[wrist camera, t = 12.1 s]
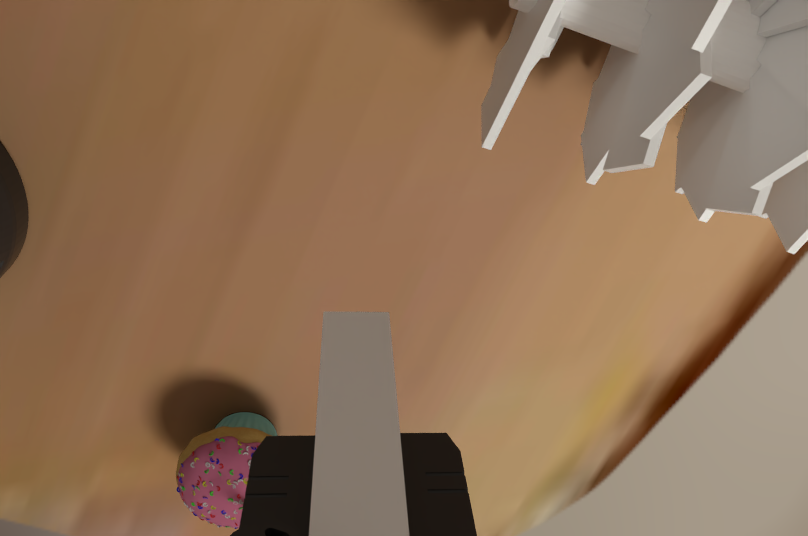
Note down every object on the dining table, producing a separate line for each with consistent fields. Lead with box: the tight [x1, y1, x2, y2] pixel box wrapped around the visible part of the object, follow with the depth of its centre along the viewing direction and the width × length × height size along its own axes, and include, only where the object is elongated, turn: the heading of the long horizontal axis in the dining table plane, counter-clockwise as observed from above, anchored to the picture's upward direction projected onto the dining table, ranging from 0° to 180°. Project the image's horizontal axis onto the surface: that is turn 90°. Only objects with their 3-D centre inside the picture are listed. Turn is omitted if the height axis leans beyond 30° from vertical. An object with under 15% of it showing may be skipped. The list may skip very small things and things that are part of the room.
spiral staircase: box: [482, 0, 808, 254], centre depth 35 cm, size 18×18×25 cm
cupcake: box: [176, 412, 277, 529], centre depth 50 cm, size 9×8×12 cm
